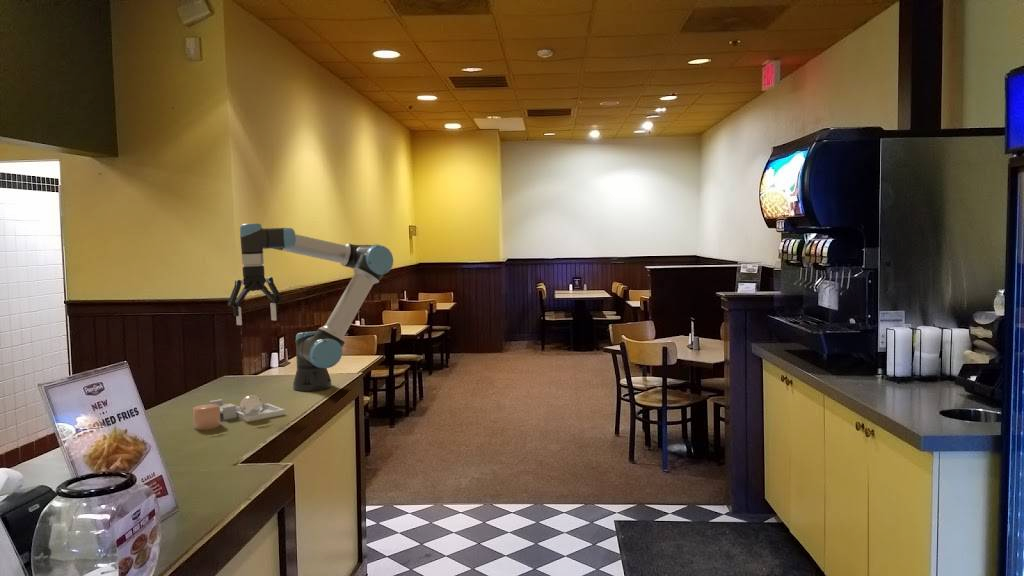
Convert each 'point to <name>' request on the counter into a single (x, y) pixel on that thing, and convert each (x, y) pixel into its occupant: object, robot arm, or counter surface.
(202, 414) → the peach rounded pebble
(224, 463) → the counter surface
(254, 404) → the light bulb
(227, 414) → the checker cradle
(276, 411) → the tray
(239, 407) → the plate
